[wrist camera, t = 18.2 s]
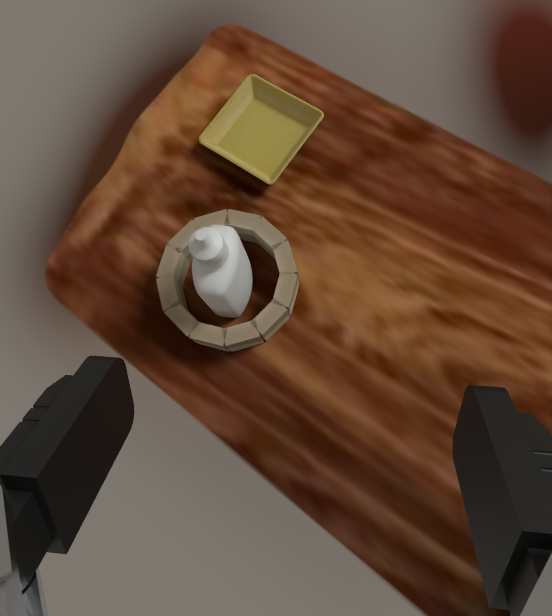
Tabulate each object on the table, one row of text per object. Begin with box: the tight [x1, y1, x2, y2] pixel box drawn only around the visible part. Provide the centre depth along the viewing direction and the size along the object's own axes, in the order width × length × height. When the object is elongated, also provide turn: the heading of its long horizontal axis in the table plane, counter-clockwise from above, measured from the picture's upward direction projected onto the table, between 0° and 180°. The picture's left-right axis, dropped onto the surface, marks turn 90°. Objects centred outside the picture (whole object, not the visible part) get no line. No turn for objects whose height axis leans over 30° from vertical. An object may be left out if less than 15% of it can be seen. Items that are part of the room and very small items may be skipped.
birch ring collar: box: [156, 209, 299, 352], centre depth 41 cm, size 11×11×3 cm
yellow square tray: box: [199, 74, 324, 185], centre depth 45 cm, size 9×9×2 cm
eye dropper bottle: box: [188, 225, 253, 318], centre depth 37 cm, size 4×6×12 cm
